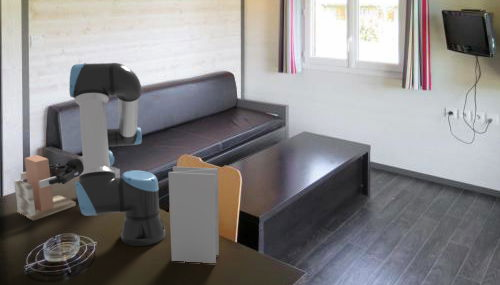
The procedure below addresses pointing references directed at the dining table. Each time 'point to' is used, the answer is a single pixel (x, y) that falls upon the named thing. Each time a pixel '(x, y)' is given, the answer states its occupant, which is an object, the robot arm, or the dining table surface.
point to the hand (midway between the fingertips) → (30, 180)
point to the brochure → (194, 214)
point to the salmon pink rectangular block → (36, 172)
